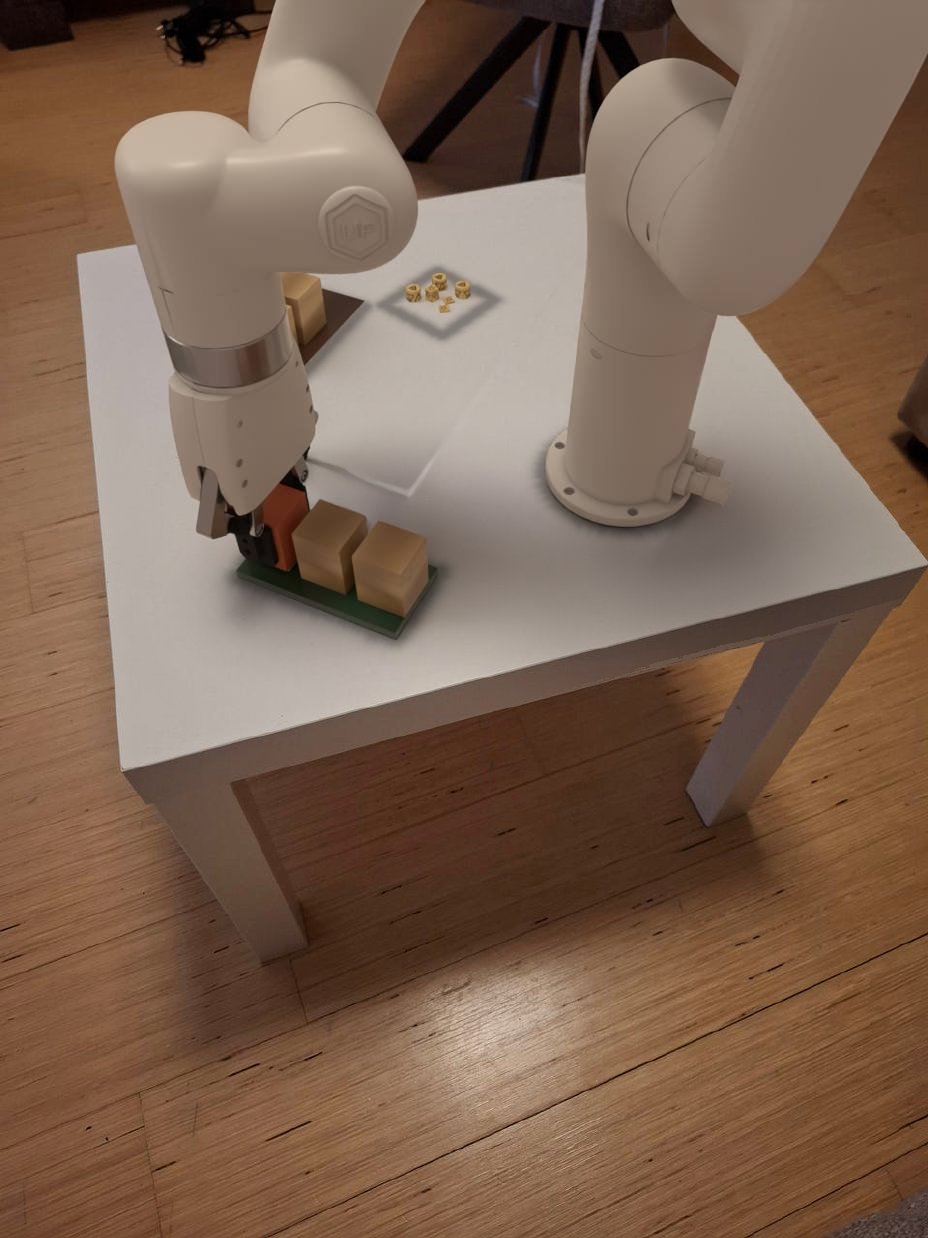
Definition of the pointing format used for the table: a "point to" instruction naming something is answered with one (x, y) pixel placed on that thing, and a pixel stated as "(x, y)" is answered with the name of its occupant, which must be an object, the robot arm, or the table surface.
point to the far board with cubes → (314, 311)
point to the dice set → (433, 291)
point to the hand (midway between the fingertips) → (276, 536)
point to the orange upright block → (284, 520)
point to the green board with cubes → (352, 569)
